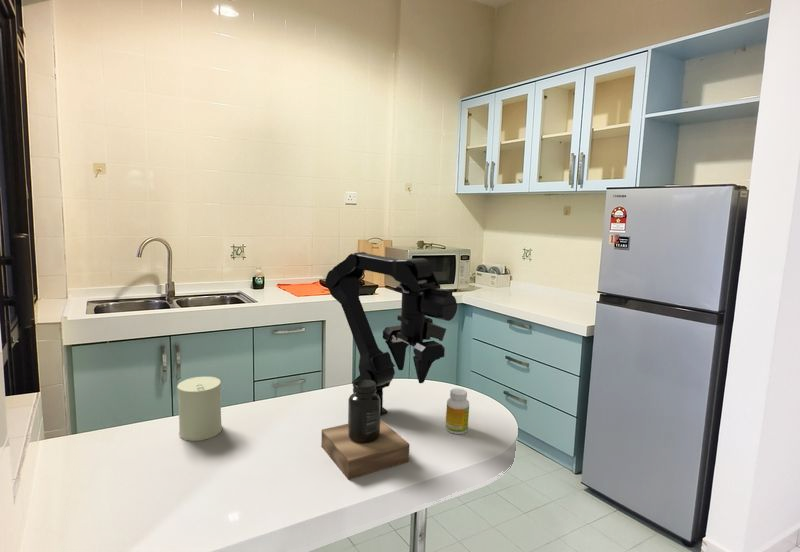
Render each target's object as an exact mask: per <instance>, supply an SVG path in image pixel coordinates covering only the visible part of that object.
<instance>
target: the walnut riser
mask: <svg viewBox="0 0 800 552" xmlns="http://www.w3.org/2000/svg"><path fill="white" fill-rule="evenodd" d="M410 446H411V445H410V443H409V442H408V441H407V440H406V439H404V438H403V437H402V436H401V435H400V434H399V433H398V432H396V431H395V430H394V429H392V427H391V426H389V425H388V424H387V423H386V422H385V421H383V420H382V418H380V435H379V437H378V439H377V440H375V441H373V442H370V443H357V442H354V441H352V440H351V439H350V438H349V436H348V423H345V424H341V425H335V426H332V427H328V428H323V429H321V448H322V449H323V450H324V451H325V453H326V454H327V456H329V458H330V459H331V460H332V462H333V463H334V464H335V465H336V466H337V467H338V469H339V471H341V473H342V474H343V475H344V476H345V477H346V479H347V480H350V479H353V478H358V477H361V476H364V475H368V474H371V473H375V472H377V471H378V472H379V471H382V470H385V469H389V468H393V467H396V466H398V465H402V464H405V463H408V462H410Z"/></svg>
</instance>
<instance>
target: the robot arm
mask: <svg viewBox="0 0 800 552" xmlns="http://www.w3.org/2000/svg"><path fill="white" fill-rule="evenodd" d="M365 271H367V272H372V273H377V274H382V275H386V276H390V277H392V279H394V280H395V281H396V282H398V283H399V284H398V285H397V286H396V287H395V288H394V291H395V292H399V293H401V310H400V311H401V313H400V314H399V315H397V316H396V317H397V321H399V322H400V325H393V326H386V327H385V328H384V329H383V331H382V339H384V341H385V344H386V346H387V347H388V349H389V351H390V353H391V354H390V353H389V351H386V352H383V351H382V350H381V349H380V348H379V346H378V344H377V341H376V338H375V336H374V334H373V330H372V328H371V326H370V323H369V321H368V318H367V315H366V313H365V310H364V307H363V305H362V302H361V299H360V292H361V284H360V280H361V279H362V278H363V276H364V275H365ZM324 282H325V285H326V288H327V289H328V292H329V293H330V295H331V297H332V298H334V299H335V300H336V301H337V302H338V303H339V304H340V305H341V308H342V310H343V313H344V316H345V318H346V321H347V324H348V326H349V329H350V333H351V334H352V337H353V340H354V343H355V345H356V347H357V350H358V354H359V361H358V370H359V372H358V373H359V375H358V376H357V377H356V378H355V379H354V380H353V381H352V382H351V384H352V385H353V384H354V382H355V381H357V380H363V379H367V380H372V381H374V382H375V383H376V394H377V395H378V396H379V397H380V416H381V415H384V414H388V410H387V409H386V408H385V407H384V406H383V403H384V398H383V397H384V396H383V395H384V388H388V387H390V385H391V382H392V381H393V379H394V376H395V374H396V371H395V368H394V367H395V366H396V367H397V369H398V370H399V371H403V370H404V367H405V360H406V352H407V348H408V346H412V347H413V354H414V356H412V359H413V364H414V367H415V368H414V369H415V373H416V378H417V381H418V384H424V382H425V380H426V378H427V375H428V373H429V371H430V368H431V366H432V364H433V363H434V362H435V361H436V360H437V361H438V360H440V359H442V358H445V357H446V356H445V355H446V354H445V353H446V347H445V346H444V345H443V344H441V343H439V342H443V341H444V338H445V335H446V332H447V328H446V327H443V326H441V325H438V324H436V323H434V322H433V318H434V319H438V320H442V321H447V322H449V321H451V320H453V319H454V317H455V316H456V315H457V309H458V303H457V299H456V297H455V296H454V295H453V289H449V288H446V289H444V288H441V285H440V283H439V281H438V279H437V277H436V275H435V272H434V271H433V268H432V265H431V263H430V261H429V260H428V259H427V258H422V257H420V258H419V257H418V258H402V259H401V258H400V259H398V258H393V257H387V256H381V255H376V254H371V253H367V252H365V251H361V252H359V251H358V252H351V253H350V254H348V255H347V257H346V258H345V259H344V260H342V261H341V262H339V263H338V264H337V265H335V266H334V267H333V268H332V269H331V270H328V272H327V274H326V277H325V281H324ZM431 338H433V339H436V340H438V341H439V342H437V341H435V340H431ZM391 355H392V357H393V360H394V362H393V361H392V358H391ZM394 363H395V364H394Z"/></svg>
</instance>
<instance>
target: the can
mask: <svg viewBox="0 0 800 552" xmlns="http://www.w3.org/2000/svg"><path fill="white" fill-rule="evenodd" d="M221 384H222V381H221V380H220V379H219V378H218V377H215V376H194V377H189V378H187V379H184V380H182V381H181V382H179V383H178V384H177V386H176V388H177V398H178V400H177V401H178V402H177V403H178V420H179V421H178V422H179V423H178V424H179V429H178V430H179V431H178V436H179V437H180V439H182V440H186V441H188V442H189V441H193V442H197V441H204V440H208V439H211V438H214V437H216V436H217V435H220V433H221V431H222V429H223V426H222V400H221V397H222V394H221V393H222V392H221V391H222V390H221Z"/></svg>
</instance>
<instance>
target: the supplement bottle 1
mask: <svg viewBox="0 0 800 552" xmlns="http://www.w3.org/2000/svg"><path fill="white" fill-rule="evenodd" d="M352 387H353V388H352V394H350V395H349V397H348V401H347V403H348V407H347V408H348V410H347V415H348V416H347V417H348V418H347V424H348V436H349V438H350V439H351V440H352V441H354V442H357V443H370V442H373V441H375V440H377V439H378V437H379V435H380V419H381V415H380V397H379V396H378V395H377V394H376V383H375V382H374V381H372V380H367V379H363V380H357V381H355V382H354V384H352Z"/></svg>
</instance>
